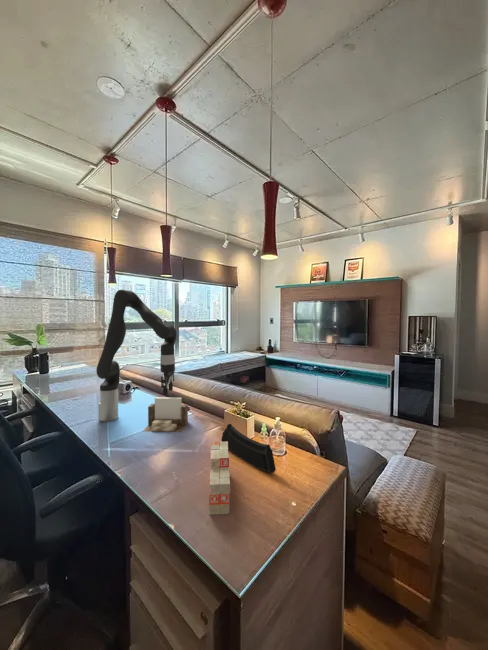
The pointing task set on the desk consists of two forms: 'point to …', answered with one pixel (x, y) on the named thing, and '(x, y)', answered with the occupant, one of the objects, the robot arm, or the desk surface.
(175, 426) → the offcut lower
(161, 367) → the robot arm
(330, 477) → the desk surface
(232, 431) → the magazine
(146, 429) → the rack
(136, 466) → the desk surface
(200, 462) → the desk surface
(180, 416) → the white square panel
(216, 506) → the stack of blocks
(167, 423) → the offcut upper
